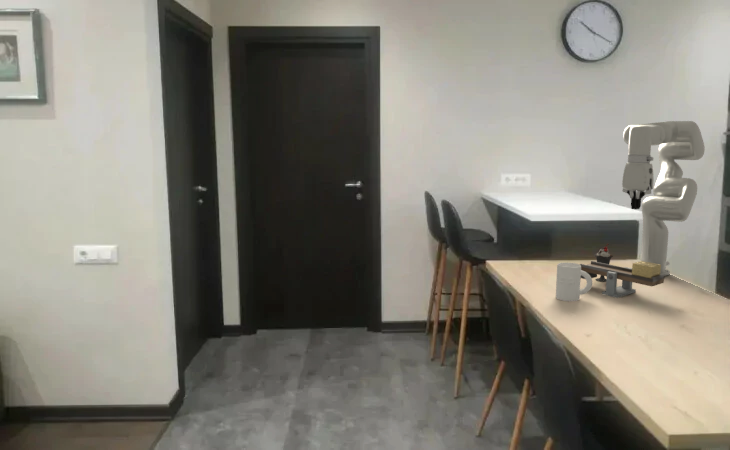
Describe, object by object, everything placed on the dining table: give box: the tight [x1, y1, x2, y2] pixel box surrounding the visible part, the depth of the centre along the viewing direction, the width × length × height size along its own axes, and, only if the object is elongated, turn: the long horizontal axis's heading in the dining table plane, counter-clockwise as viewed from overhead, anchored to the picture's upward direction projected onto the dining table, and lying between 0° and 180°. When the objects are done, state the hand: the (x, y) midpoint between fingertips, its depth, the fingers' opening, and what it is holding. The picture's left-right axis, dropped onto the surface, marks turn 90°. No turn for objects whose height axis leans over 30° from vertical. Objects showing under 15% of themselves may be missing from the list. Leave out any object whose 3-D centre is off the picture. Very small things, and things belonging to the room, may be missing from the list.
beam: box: [579, 260, 665, 287], centre depth 224 cm, size 8×28×6 cm, turn 38°
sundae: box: [594, 243, 614, 283], centre depth 242 cm, size 7×7×15 cm
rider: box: [631, 260, 661, 279], centre depth 215 cm, size 6×7×5 cm
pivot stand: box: [601, 266, 637, 299], centre depth 224 cm, size 12×6×8 cm, turn 128°
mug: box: [555, 262, 593, 302], centre depth 217 cm, size 8×12×12 cm
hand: (635, 208), depth 232 cm, fingers closed
